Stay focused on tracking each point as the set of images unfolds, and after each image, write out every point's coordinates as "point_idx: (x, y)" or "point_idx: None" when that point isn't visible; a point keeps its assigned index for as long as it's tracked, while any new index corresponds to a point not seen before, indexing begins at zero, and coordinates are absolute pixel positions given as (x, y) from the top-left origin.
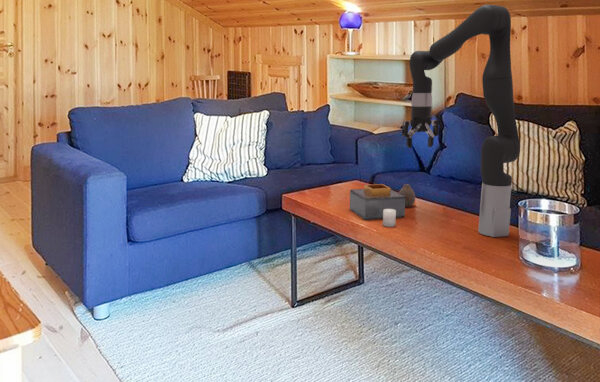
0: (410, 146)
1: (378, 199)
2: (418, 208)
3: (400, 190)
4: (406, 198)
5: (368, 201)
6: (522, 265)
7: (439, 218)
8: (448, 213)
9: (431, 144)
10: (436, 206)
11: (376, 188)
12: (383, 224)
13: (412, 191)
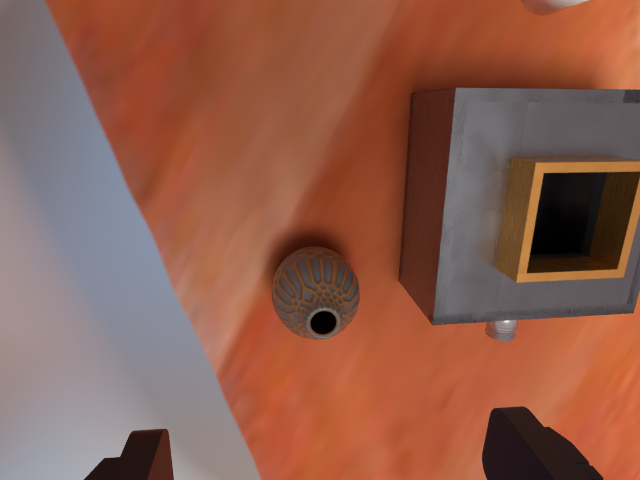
0: (529, 416)
1: (614, 89)
2: (274, 222)
3: (353, 313)
4: (335, 256)
5: None
6: None
7: (257, 18)
8: (165, 96)
9: (131, 462)
10: (169, 236)
11: (542, 263)
12: None
13: (299, 282)
